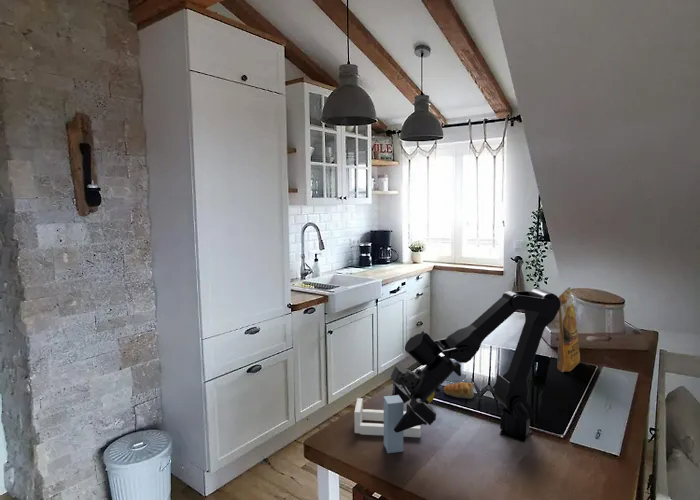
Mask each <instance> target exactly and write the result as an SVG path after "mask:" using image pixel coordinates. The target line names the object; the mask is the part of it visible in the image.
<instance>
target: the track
mask: <svg viewBox="0 0 700 500" xmlns="http://www.w3.org/2000/svg"><path fill="white" fill-rule="evenodd" d="M363 403H364V399H363V397H362V398H361V397H357V398H356V402H355V406H354V407H355V409H354V416H353V417H354V419H353V420H354V434H360V435H363V436H364V435H366V436H382V437H384V423H377V422H384V409H366V408H365V409H364V404H363ZM405 413H406V410H403V416H404V415H405ZM363 421H370V422H363ZM371 421H374V422H375V423H373V422H371ZM421 433H422V430H421V425H419V426H415V427H412V428H409V429H406V430H403V438H404V437H405V438H421Z"/></svg>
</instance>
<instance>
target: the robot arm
mask: <svg viewBox="0 0 700 500" xmlns="http://www.w3.org/2000/svg"><path fill="white" fill-rule="evenodd" d="M560 306H561V302H560V300H559V296H558V295H556V294H554V293H552V292H549V291H547V290H544V289H541V288H533V289H532V290H528V291H527V290H517V291H511V290H508V291H505V292H504V293H503V294H502V296H501V297H500V298H499V299H498V300H496V301H495V302H494V303H493V304H492V305H491V306H490V307H489V308H487V309H486V310H485V311H484V312H483V313H482V314H481V315H480V316H478V318H476V319H475V320H474V321H473V322H472V323H470V324H469V325H468V326H466V327H465V326H464V327H463V328H460V329H456V330H455V331H454V332H452V333H451V334H449V335H448V336H447V337H445V338H440V339H434V340H433V339H432V337H431V336H430V335H429V334H428V333H427V332H426V331H425V330H422V331H421V333H417V334H415V335H413V336H411V337H410V338H408V340H407V341H406V343H405V347H404V351H405V352H406V353H407V354H408V355H409V356H411V357H412V358H413V360H415V361H416V363H418V364H419V365H420V366H422V367H423V366H424V367H423V368H422V369H420V368H417V369H416V370H414V371H411V370H410V369H408V368H405V367H402V366H400V365H397V364H395V366H394V368H393V370H392V372H391V375H390V378H392V393H391V396H394V395H399V396H400V398H401V399H402V401H403V402H404V404H406V403H407V402H409V404H406V410H405V411H406V413H405V415H404V416H403V417H402V418H401V420H400V421H399V422H398V424H397V425H396V426H395V428H394V431H395V432H396V433H398V432H400V431H403V430H406V429H409V428H412V427H415V426H421V425H424V426H427V425H429V426H431V425H432V424H434V422H435V421H437V420H436V418H437V414H436V413H435V411H434V410H433V408H432V407H431V406H430V405H429V404H430V403H429V401H428V400H427V399H428V398H429V397H430V396H431V395H432V394H433V393H434V392H436V393H437V394H439V393H440V392H441V389H440V386H441V385H442V384H443V383H444V382H445V381H446V380H447V379H448V378H449V377H450V376H451V375H452V373H455V374H456V375H457V377H461V375H462V371H461V367H462V365H461V364H467V363H468V362H470V361H471V360H472V359H473V358H474V357H475V355H477V353H478V351H479V350H480V347H481V346H482V343H483V341H484V340H485V339H486V338H487V337H488V336H489V335H491V334H492V333H493V332H494V331H495V330H496V329H497V328H499V327H500V326H501V324H503V323H504V322H506V320H507V319H508V318H510V317H511V316H512V315H513V314H514V313H516V312H517V311H518V310H521V311H524V319H525V321H524V324H523V326H522V330H521V333H520V336H519V338H518V342H517V343H516V346H515V349H514V350H515V351H514V353H513V357H512V359H511V362H510V365H509V368H508V370H507V372H506V373H504V374H503V375H501V374H497V375H496V379H495V384H494V385H493V386H492V388H493V390H494V391H493V395H494V397H495V399H496V400H497V401H498V402H499V404H500V406H501V407H503V409H502V413H500V419H499V421H500V423H499V428H500V431H499V435H501V436H504V437H506V438H510V439H512V440H516V441H519V442H522V443H524V442H526V441H527V439H528V438H529V437H530V435H531V433H532V429H530V425H531V424H530V423H531V422H530V421H531V419H534V417H535V415H536V411H537V410H536V409H534V407H532V406H531V405H530V404H529V403H528V397H529V387H528V386H529V384H528V378H529V374H530V372H531V369H532V367H533V363H534V360H535V358H536V354H537V351H538V349H539V345H540V343H541V341H542V337H543V335H544V331H545V329H546V327H547V326H548V325H550V323H552V322H553V321H554V320H555V318H556V317H557V315H558V314H559V309H560ZM440 353H441V354H442V355H443V356H442V355H440ZM453 360H454V361H456V362H454V361H453ZM428 403H429V404H428Z"/></svg>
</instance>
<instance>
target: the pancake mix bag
mask: <svg viewBox="0 0 700 500" xmlns="http://www.w3.org/2000/svg"><path fill="white" fill-rule="evenodd" d="M558 298H559V300H560V302H561V306H560V309H559V311H558V315H559V317H558V319H559V320H558V322H559V323H558V324H559V327H558V328H559V330H558V342H557V343H558V344H557V345H558V347H557V364H556V365H557V366H556V367H557V370H558V371H559V372H561V373H564V372H571V371H573V370H574V369H575V368H576V366H578V365H579V364H580V363H581V353H580V345H579V344H580V343H579V332H578V324H577V323H578V321H577V316H576V309H575V305H574V300H573V297H572V293H571V287H570V286H569V287H568V288H566V289H565V290H564V291H563V292H562V293H561V294H560V295H558Z"/></svg>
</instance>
